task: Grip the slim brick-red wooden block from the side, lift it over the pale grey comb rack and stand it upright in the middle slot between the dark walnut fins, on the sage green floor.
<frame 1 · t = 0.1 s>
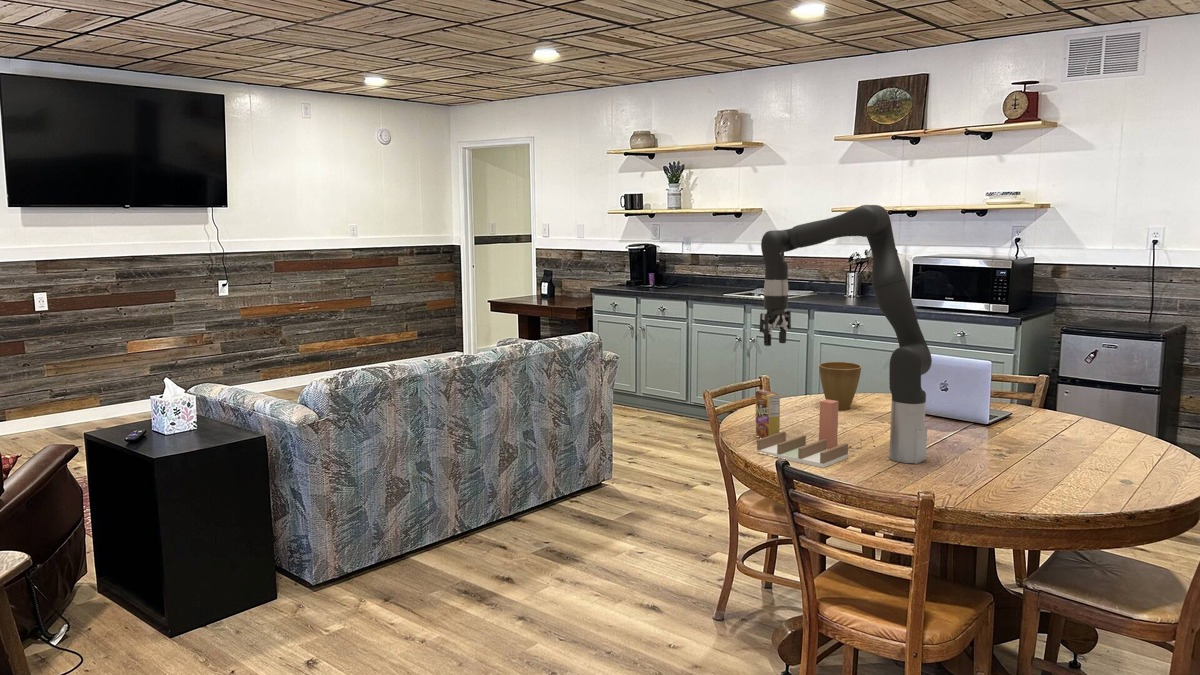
hand: (775, 344, 280), 29 cm above the table, tool pointing down, fingers open, 8 cm apart
slim block: (827, 446, 268), on the table
plant pot: (838, 408, 320), on the table
candy box: (766, 440, 276), on the table
comb rack: (801, 455, 258), on the table
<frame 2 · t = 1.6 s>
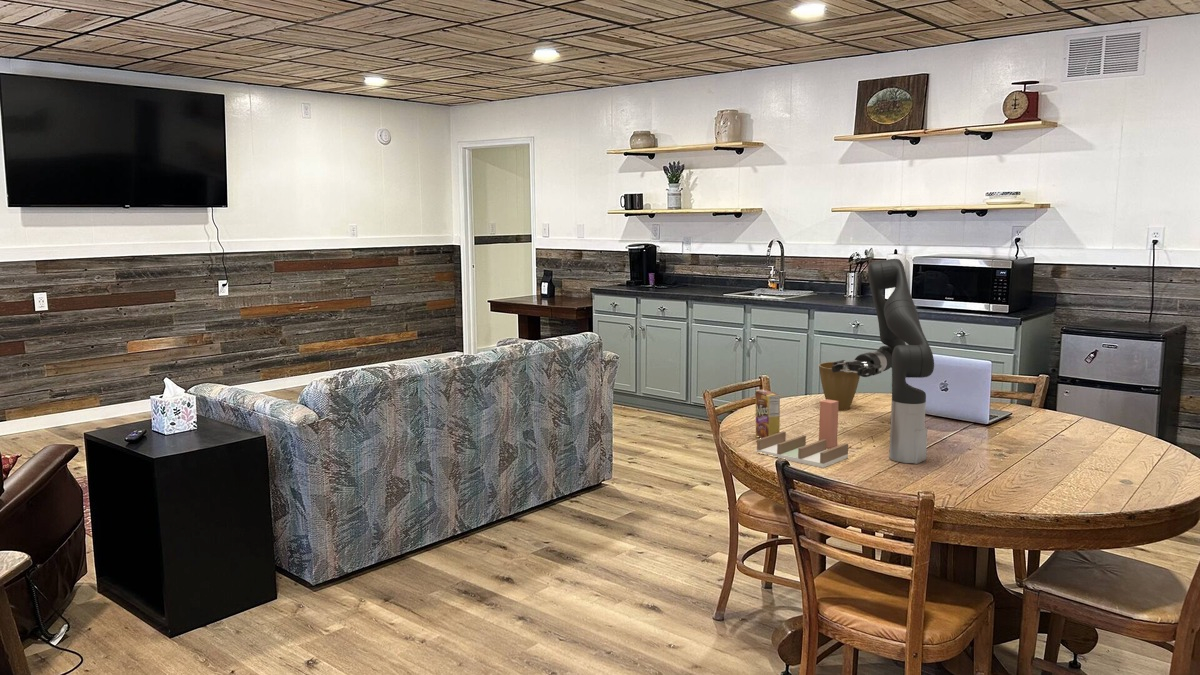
hand: (846, 370, 272), 22 cm above the table, tool horizontal, fingers open, 8 cm apart
nothing on the table moved.
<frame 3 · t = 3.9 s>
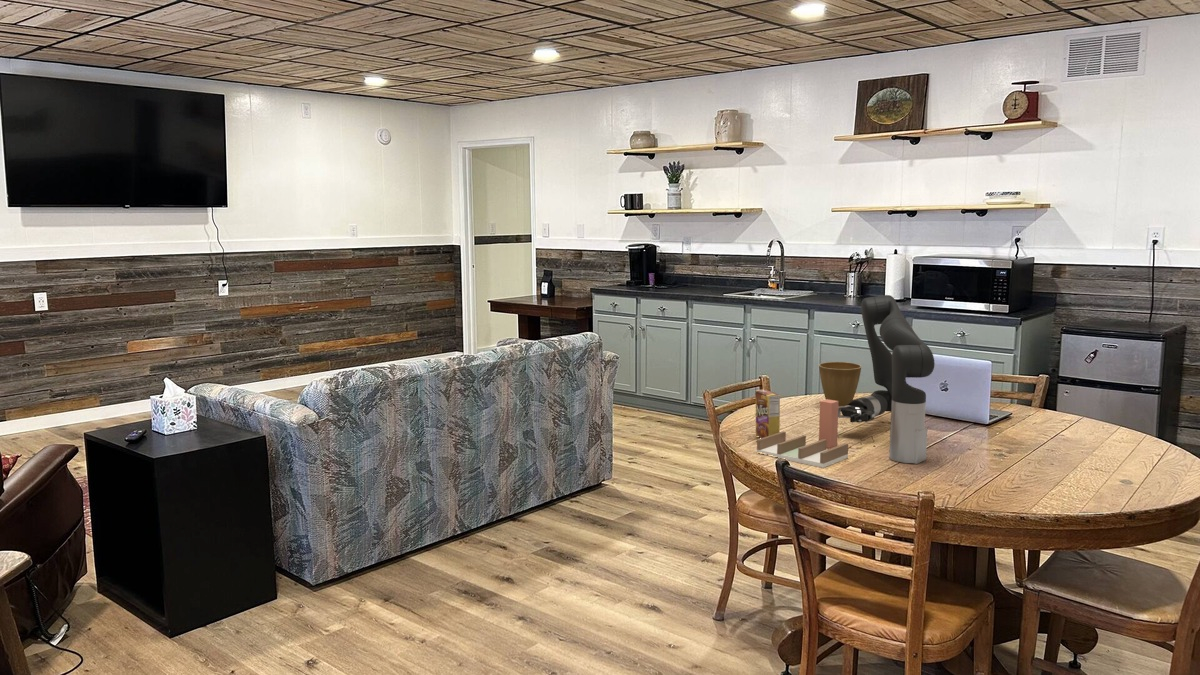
hand: (838, 417, 271), 8 cm above the table, tool horizontal, fingers open, 8 cm apart
nothing on the table moved.
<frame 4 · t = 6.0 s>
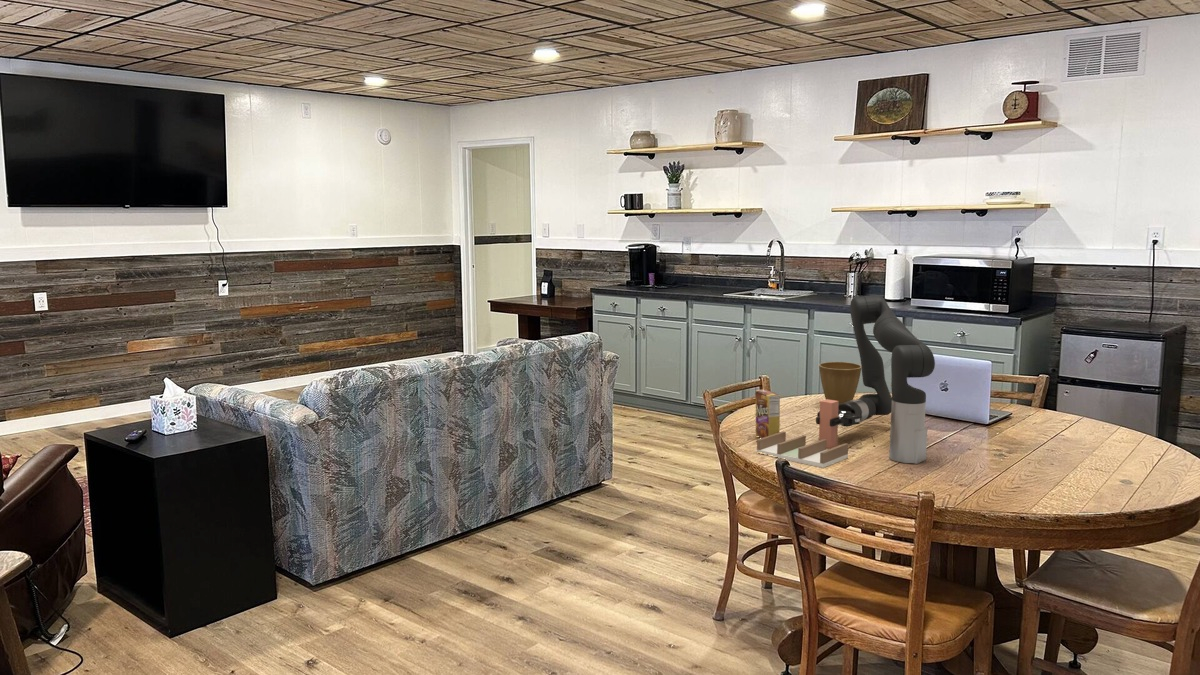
hand: (824, 421, 265), 8 cm above the table, tool horizontal, fingers closed on slim block, 4 cm apart
slim block: (827, 446, 268), on the table, touching gripper
everything else where it was.
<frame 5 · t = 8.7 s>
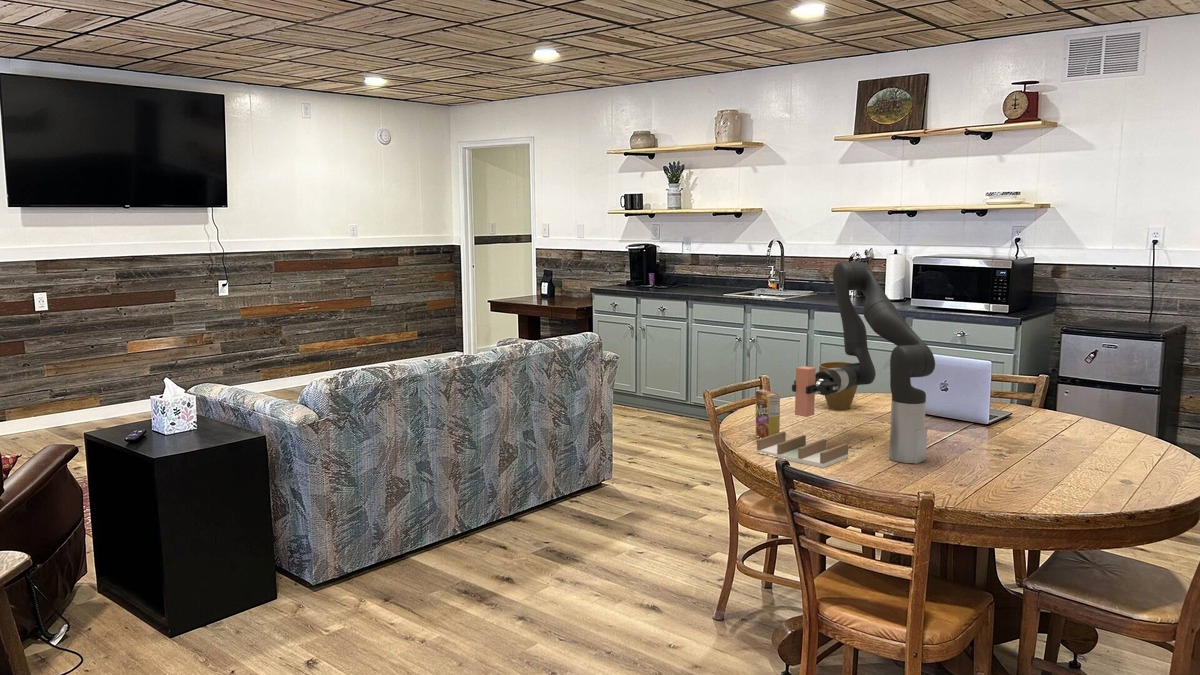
hand: (800, 389, 254), 20 cm above the table, tool horizontal, fingers closed on slim block, 4 cm apart
slim block: (804, 414, 257), point 12 cm above the table, touching gripper
everything else where it was.
when the fingers open (10 cm above the table, at t = 11.5 s): slim block drops 1 cm, resting on comb rack.
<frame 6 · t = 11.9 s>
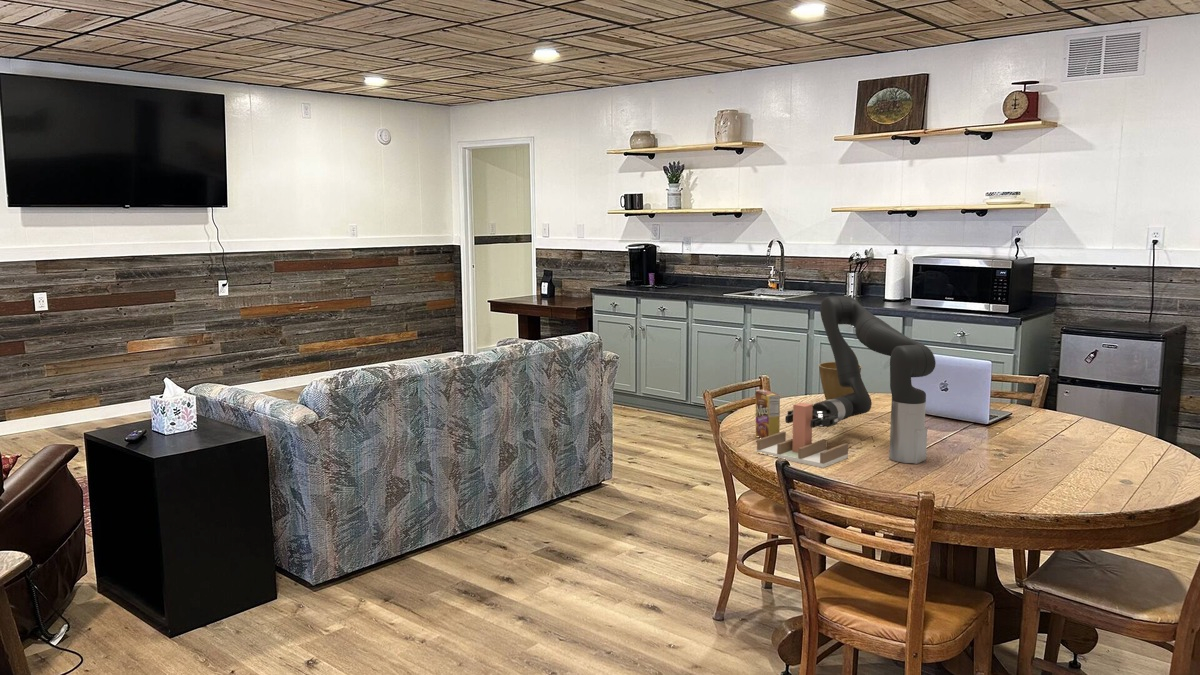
hand: (799, 421, 255), 11 cm above the table, tool horizontal, fingers open, 8 cm apart
slim block: (801, 451, 257), point 1 cm above the table, touching comb rack
everything else where it was.
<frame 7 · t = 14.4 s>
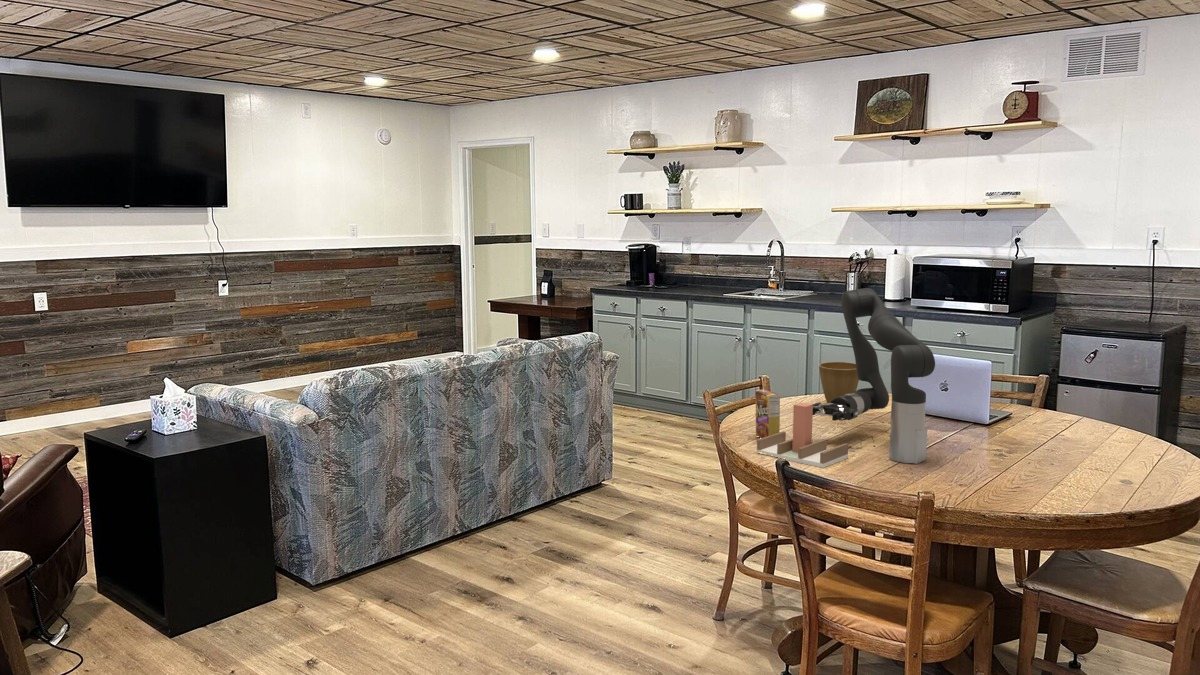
hand: (820, 415, 263), 10 cm above the table, tool horizontal, fingers open, 8 cm apart
nothing on the table moved.
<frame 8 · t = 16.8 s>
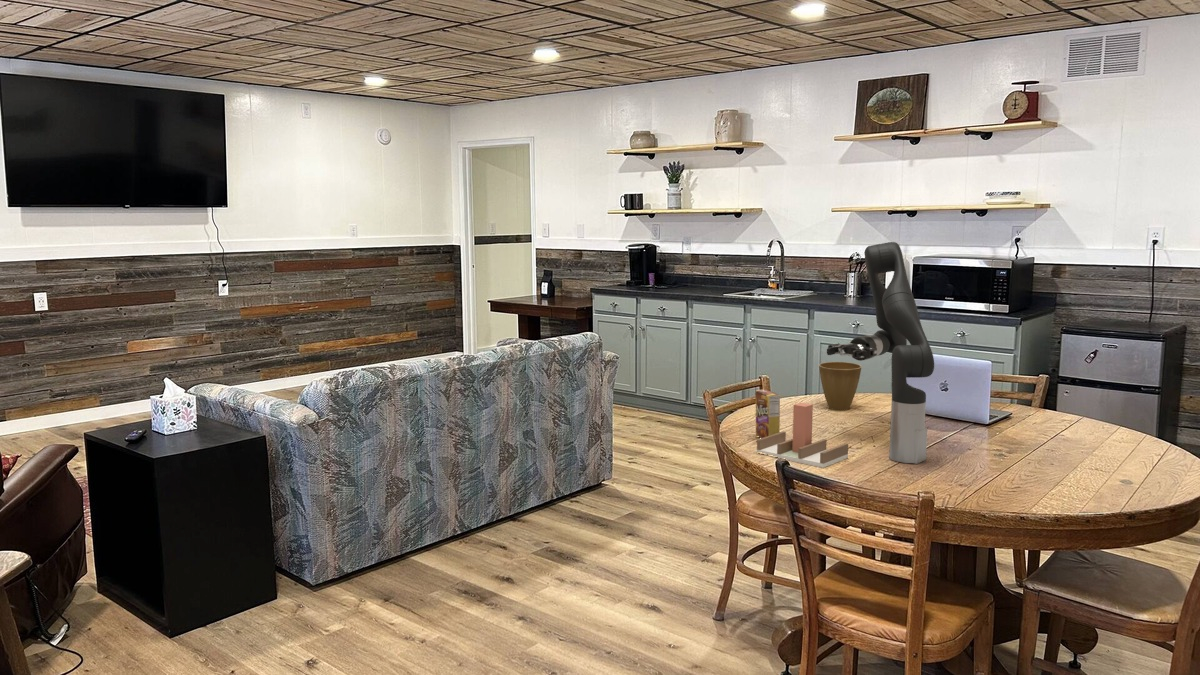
hand: (840, 353, 269), 28 cm above the table, tool horizontal, fingers open, 8 cm apart
nothing on the table moved.
at the end: slim block 0.0 cm off-centre on the comb rack, point 1.3 cm above the comb rack's base; slim block tilted 0°; the gripper is holding nothing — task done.
